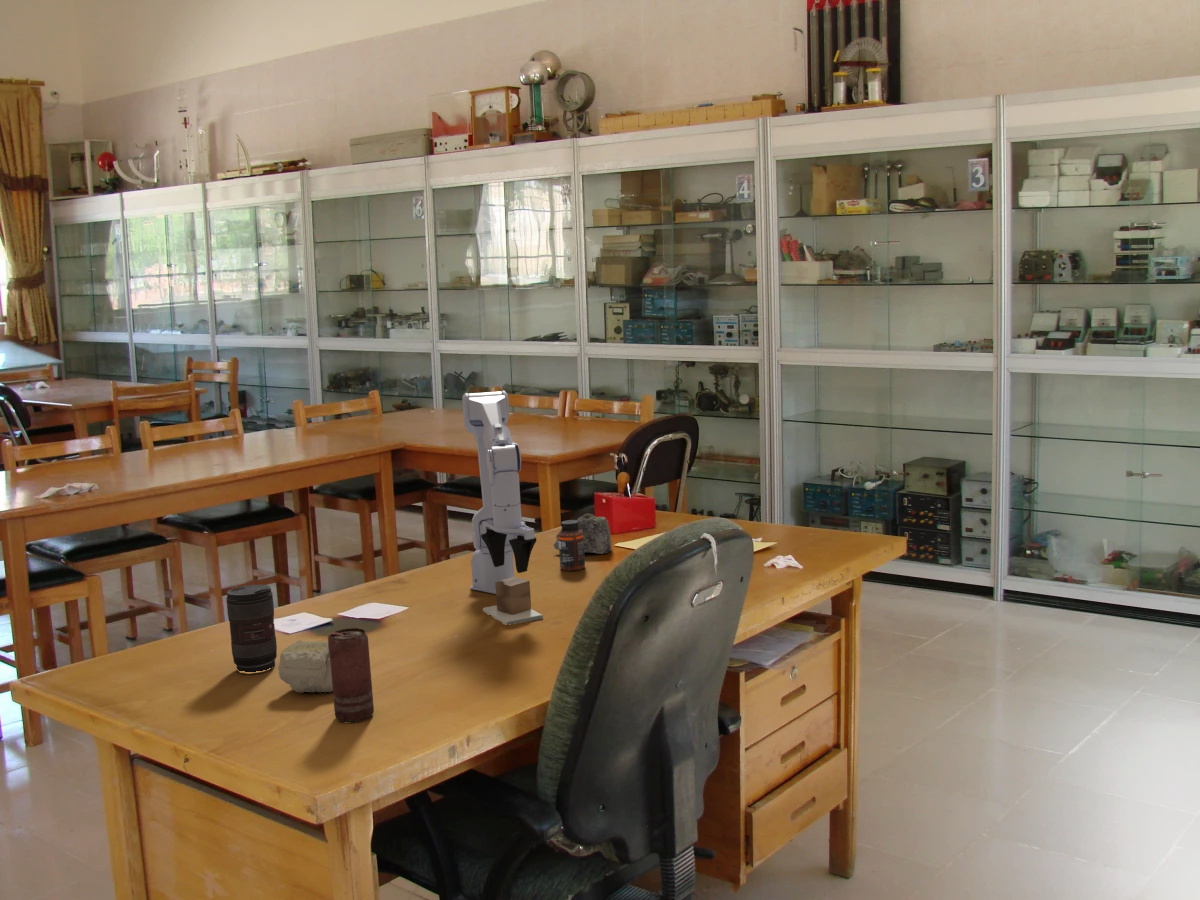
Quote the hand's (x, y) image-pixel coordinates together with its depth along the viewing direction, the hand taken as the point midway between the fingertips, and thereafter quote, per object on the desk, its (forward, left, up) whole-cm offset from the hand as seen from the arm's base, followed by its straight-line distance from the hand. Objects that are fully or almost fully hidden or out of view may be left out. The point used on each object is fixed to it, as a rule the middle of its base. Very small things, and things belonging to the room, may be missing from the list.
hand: (510, 568), depth 236 cm
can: (+19, -54, -10) cm, 58 cm away
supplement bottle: (-15, +34, -10) cm, 38 cm away
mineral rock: (-23, +47, -10) cm, 54 cm away
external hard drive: (0, 0, -11) cm, 11 cm away
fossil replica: (+3, -50, -10) cm, 51 cm away
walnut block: (0, 0, -9) cm, 9 cm away
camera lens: (-16, -50, -10) cm, 53 cm away
